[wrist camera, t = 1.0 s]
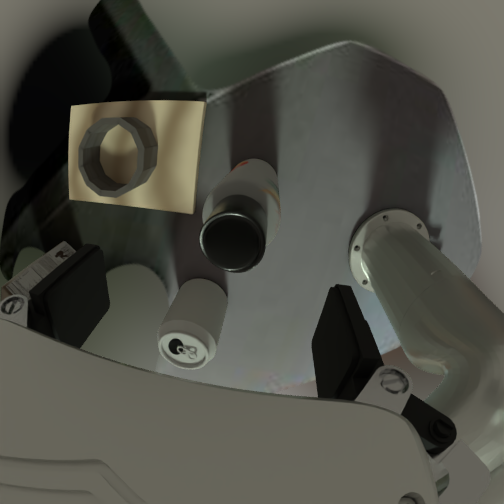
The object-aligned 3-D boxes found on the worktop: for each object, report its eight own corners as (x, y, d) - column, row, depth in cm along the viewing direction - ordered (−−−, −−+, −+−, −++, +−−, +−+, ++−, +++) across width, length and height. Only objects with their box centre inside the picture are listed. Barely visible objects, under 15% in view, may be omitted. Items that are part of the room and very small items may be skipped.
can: (186, 267, 39) (156, 319, 28) (235, 286, 40) (222, 343, 29) (175, 306, 42) (149, 360, 31) (220, 323, 43) (205, 381, 32)
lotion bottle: (221, 183, 34) (162, 250, 16) (251, 148, 32) (221, 173, 14) (256, 212, 35) (238, 307, 17) (287, 178, 33) (305, 242, 15)
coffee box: (76, 294, 44) (26, 350, 29) (52, 273, 42) (-1, 322, 28) (90, 262, 40) (30, 319, 26) (63, 238, 39) (-1, 286, 24)
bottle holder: (206, 102, 30) (195, 98, 25) (195, 211, 36) (183, 224, 31) (76, 106, 30) (53, 106, 25) (74, 197, 36) (53, 207, 31)
